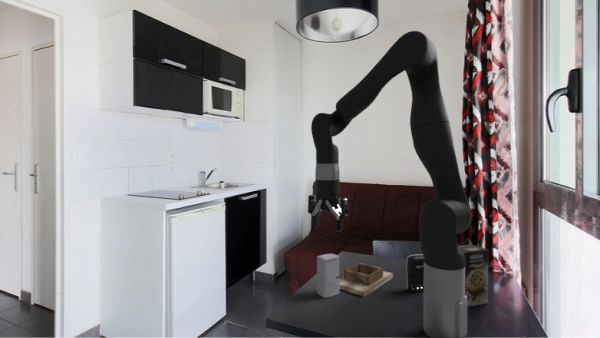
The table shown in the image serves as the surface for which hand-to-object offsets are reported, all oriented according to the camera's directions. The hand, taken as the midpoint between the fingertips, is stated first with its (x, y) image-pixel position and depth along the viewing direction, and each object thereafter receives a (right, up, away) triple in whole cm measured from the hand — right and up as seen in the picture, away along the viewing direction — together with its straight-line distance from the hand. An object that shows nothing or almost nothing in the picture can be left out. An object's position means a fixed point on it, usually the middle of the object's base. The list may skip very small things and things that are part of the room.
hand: (327, 229), depth 101 cm
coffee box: (+41, -21, -6) cm, 46 cm away
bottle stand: (+13, -20, +10) cm, 26 cm away
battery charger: (+29, -20, +2) cm, 36 cm away
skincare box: (0, -21, +1) cm, 21 cm away
